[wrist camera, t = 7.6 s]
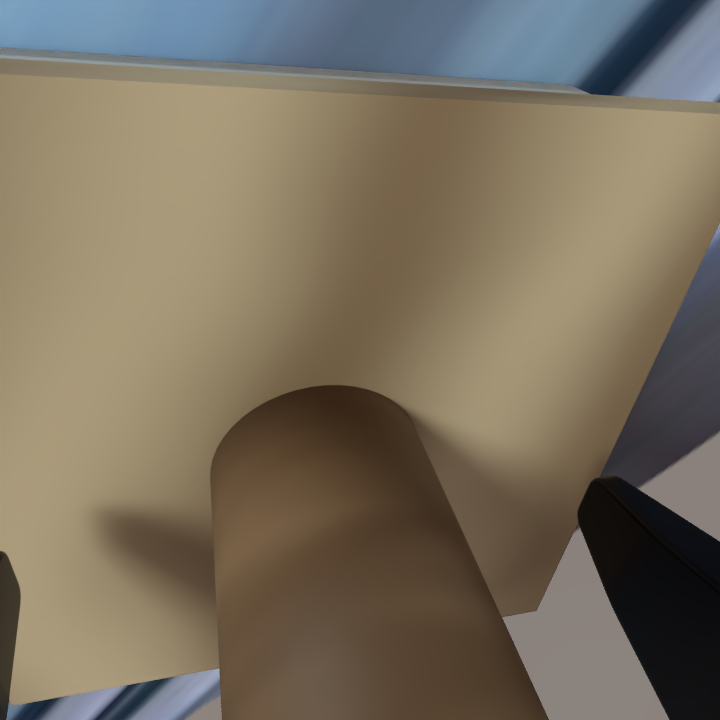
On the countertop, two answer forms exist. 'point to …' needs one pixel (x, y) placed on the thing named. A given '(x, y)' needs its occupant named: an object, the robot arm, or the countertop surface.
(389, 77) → the dish
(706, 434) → the countertop surface
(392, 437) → the lid
